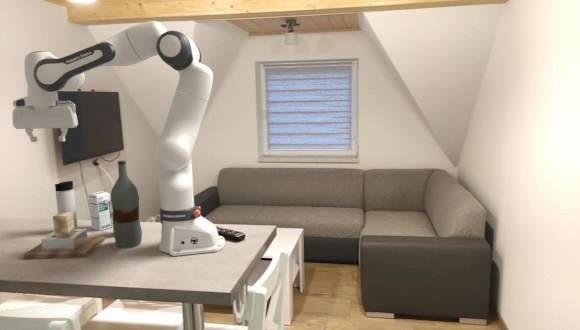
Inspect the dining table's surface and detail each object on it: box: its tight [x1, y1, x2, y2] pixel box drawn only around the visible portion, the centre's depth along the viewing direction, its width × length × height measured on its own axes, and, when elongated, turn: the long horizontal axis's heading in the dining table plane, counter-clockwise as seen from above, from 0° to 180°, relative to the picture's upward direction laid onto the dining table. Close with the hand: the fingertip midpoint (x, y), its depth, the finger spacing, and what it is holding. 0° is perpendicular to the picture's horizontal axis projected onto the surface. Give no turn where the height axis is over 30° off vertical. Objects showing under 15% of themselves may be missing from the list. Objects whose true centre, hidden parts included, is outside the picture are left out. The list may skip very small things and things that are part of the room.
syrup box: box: [87, 190, 113, 232], centre depth 169 cm, size 6×6×14 cm
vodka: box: [110, 160, 143, 249], centre depth 149 cm, size 9×9×30 cm
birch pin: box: [52, 212, 75, 237], centre depth 147 cm, size 4×4×11 cm
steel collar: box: [40, 228, 89, 251], centre depth 147 cm, size 10×10×4 cm
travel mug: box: [54, 180, 79, 229], centre depth 166 cm, size 6×7×20 cm
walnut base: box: [22, 235, 105, 260], centre depth 148 cm, size 20×16×2 cm
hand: (48, 141), depth 146 cm, fingers open, 8 cm apart
